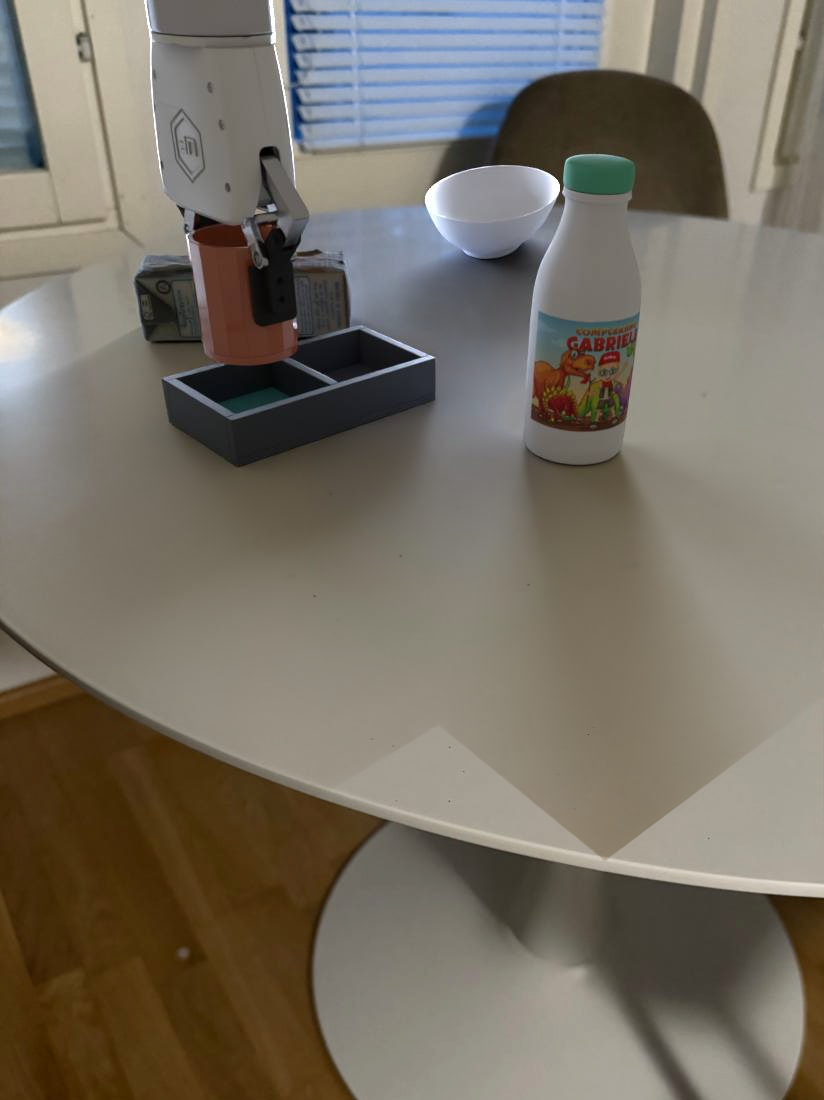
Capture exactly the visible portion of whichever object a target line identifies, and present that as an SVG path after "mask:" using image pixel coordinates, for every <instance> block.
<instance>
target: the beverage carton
mask: <svg viewBox="0 0 824 1100" xmlns="http://www.w3.org/2000/svg"><path fill="white" fill-rule="evenodd" d="M296 252H297V259H296V261H295V262H293V274H294V285H295V296H296V307H297V316H296V321H297V332H298V338H313V337H317V336H321V335H325V334H328V333H332V332H336V331H340V330H343V329H347V328H351V323H352V321H351V320H352V303H353V300H352V286H351V278H350V273H349V268H348V263H347V260H346V254H345V252H344V251H343V250H340V251H324V250H321V249H318V248H315V249H309V250H303V251H296ZM132 282H133V288H134V291H135V295H136V300H137V307H138V315H139V321H140V324H141V328H142V333H143V337H144V339H145V341H146V342H158V341H159V342H161V341H162V342H163V341H164V342H165V341H202V337H201V331H200V324H199V318H198V311H197V305H196V298H195V291H194V285H193V278H192V272H191V265H190V258H189V254H147V255H145V256H144V258H143V260H142V262H141V264H140V266H139V268H138V270H137V271H136V272H135V274H134V276H133V281H132Z"/></svg>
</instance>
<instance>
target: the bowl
mask: <svg viewBox="0 0 824 1100" xmlns="http://www.w3.org/2000/svg"><path fill="white" fill-rule="evenodd" d="M559 193H560V183H559V181H558V179H556V177H554V176H553V175H551V173H548V172H546V171H544V170H542V169H539V168H536V167H535V168H534V167H529V166H523V165H510V164H507V165H505V164H503V165H488V166H481V167H476V168H470V169H467V170H462V171H459V172H455V173H454V174H451V175H449V176H447V177H445V178H443V179H441V180H439V181H438V182H436V183H435V184H433V185H432V186H431V188H429V190H428V191H427V192H426V194H425V199H424V202H425V206H426V209H427V211H428V214H429V216H430V218H431V220H432V222H433V224H434V226H435V227H436V229H437V231H438V232H439V233H440V234H441V236H442V237H443V238H444V239H445V240H446V241H448V242H449V243H450V244H452V246H455V247H456V248H458V249H459V250H461V251H463V252H464V253H465V254H466V255H468V256H469V257H472V258H476V259H483V260H489V259H497V258H501V257H504V256H508V255H510V254H512V253H513V252H515V251H516V250H517V249H518V248H519V247H520V246H521V245H522V244H523V243H525V242H526V241H527V240H529V239H530V238H531V237H532V236H534V234H535V233H536V232H537V231H538V230H539V229H540V228H541V227H542V226H543V224H544V223H545V222H546V220H547V219H548V217H549V215H550V213H551V211H552V209H553V207H554V205H555V203H556V201H557V199H558V197H559Z"/></svg>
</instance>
